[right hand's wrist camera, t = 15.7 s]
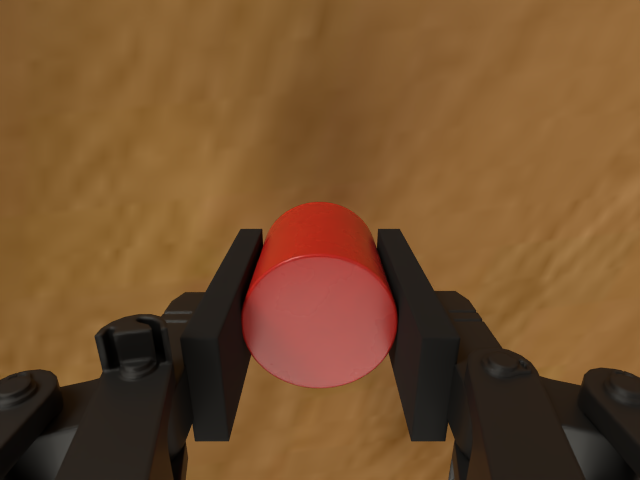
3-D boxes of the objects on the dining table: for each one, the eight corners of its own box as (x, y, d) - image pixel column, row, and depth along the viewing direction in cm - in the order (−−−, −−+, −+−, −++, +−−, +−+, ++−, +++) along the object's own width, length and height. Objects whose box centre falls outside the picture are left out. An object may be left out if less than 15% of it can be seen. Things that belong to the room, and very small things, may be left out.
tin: (346, 181, 14) (359, 226, 9) (392, 278, 15) (422, 356, 11) (242, 231, 14) (209, 295, 10) (295, 319, 16) (286, 408, 11)
